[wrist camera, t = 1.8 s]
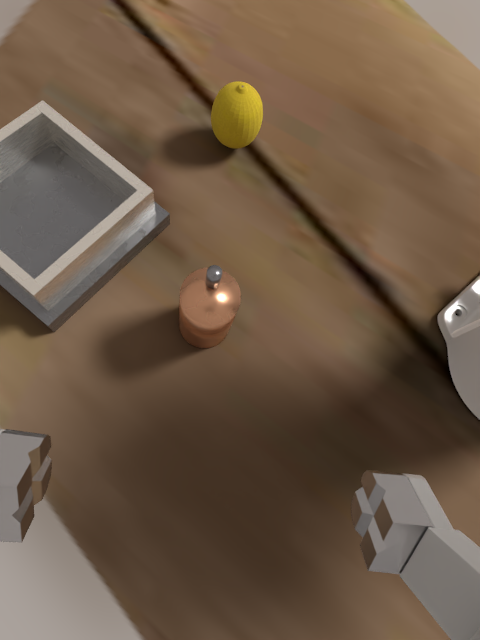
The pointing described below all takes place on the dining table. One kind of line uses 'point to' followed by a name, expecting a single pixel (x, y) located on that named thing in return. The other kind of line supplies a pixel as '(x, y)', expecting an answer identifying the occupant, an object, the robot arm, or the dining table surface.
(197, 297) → the copper upright cylinder
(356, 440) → the dining table surface
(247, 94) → the lemon
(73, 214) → the open square box
